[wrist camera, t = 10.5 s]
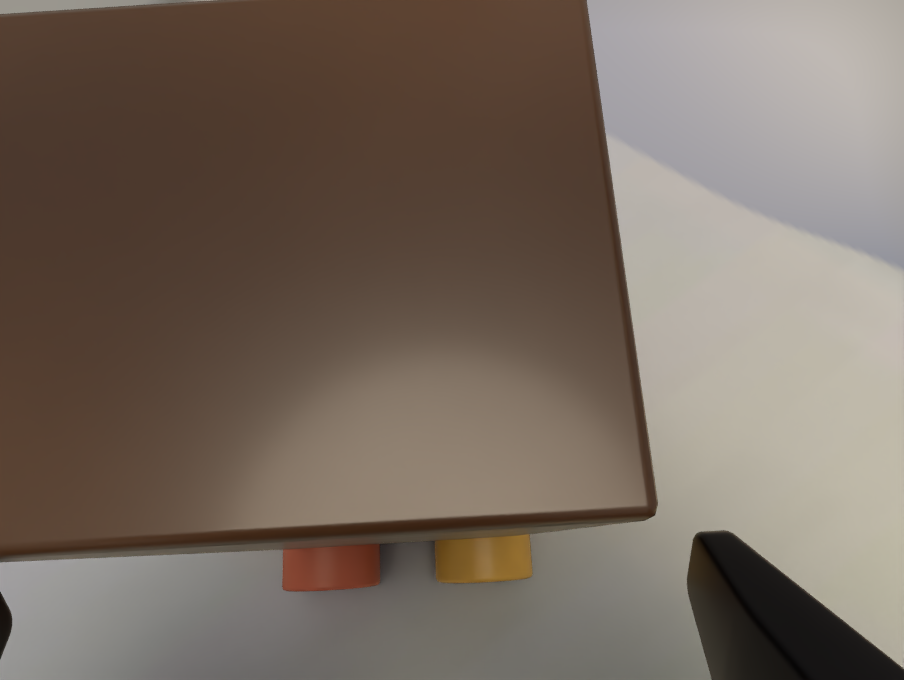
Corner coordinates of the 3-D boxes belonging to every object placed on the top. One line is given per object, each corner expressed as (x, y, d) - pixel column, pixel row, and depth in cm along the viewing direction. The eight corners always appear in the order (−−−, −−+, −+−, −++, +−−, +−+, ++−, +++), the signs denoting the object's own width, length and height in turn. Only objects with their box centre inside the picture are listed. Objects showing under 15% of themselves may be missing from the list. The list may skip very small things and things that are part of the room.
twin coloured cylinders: (528, 574, 18) (537, 579, 15) (296, 586, 18) (269, 593, 16) (511, 357, 20) (516, 332, 17) (299, 368, 20) (277, 345, 17)
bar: (516, 535, 16) (665, 518, 4) (288, 549, 16) (-257, 573, 4) (503, 371, 17) (586, -30, 5) (290, 384, 17) (-125, 17, 5)
